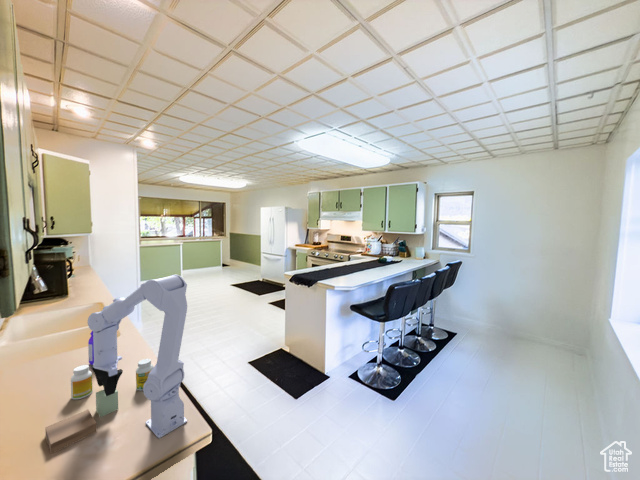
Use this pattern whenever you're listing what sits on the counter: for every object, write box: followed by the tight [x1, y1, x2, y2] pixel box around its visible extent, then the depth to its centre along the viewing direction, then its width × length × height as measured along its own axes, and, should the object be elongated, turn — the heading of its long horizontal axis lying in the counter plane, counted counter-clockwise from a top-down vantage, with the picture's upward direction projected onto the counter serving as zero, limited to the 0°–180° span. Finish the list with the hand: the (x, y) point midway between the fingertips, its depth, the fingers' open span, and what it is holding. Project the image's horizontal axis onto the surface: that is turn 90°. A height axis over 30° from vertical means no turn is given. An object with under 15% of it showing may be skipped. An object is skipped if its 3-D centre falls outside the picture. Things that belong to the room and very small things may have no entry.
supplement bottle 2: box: [135, 358, 154, 392], centre depth 93 cm, size 5×5×10 cm
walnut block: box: [44, 409, 97, 455], centre depth 72 cm, size 9×9×3 cm
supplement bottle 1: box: [70, 364, 93, 400], centre depth 88 cm, size 5×5×10 cm
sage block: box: [95, 388, 119, 418], centre depth 81 cm, size 4×4×6 cm
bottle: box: [87, 330, 94, 366], centre depth 110 cm, size 7×6×17 cm
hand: (106, 389), depth 81 cm, fingers open, 7 cm apart
